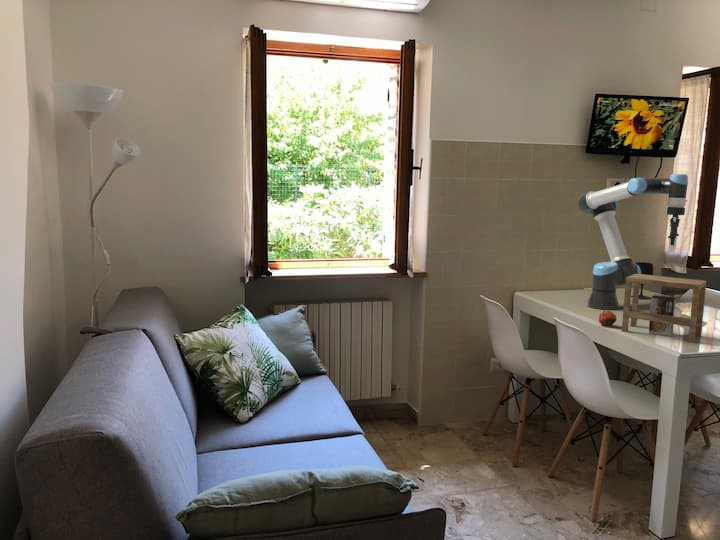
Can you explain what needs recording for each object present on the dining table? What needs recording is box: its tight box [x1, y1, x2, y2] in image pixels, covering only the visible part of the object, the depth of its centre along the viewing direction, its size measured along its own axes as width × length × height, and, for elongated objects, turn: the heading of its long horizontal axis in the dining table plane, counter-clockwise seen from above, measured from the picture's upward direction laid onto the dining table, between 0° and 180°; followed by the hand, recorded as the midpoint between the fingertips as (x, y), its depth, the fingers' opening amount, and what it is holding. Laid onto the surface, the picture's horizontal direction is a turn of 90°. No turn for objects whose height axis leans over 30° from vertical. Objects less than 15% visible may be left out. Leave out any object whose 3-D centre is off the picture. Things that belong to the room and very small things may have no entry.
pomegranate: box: [598, 310, 617, 328], centre depth 262 cm, size 7×7×10 cm
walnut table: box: [621, 274, 708, 344], centre depth 248 cm, size 15×28×24 cm, turn 49°
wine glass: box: [631, 261, 654, 300], centre depth 330 cm, size 10×10×20 cm
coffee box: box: [648, 294, 676, 337], centre depth 249 cm, size 9×6×16 cm
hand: (672, 250), depth 279 cm, fingers open, 13 cm apart
